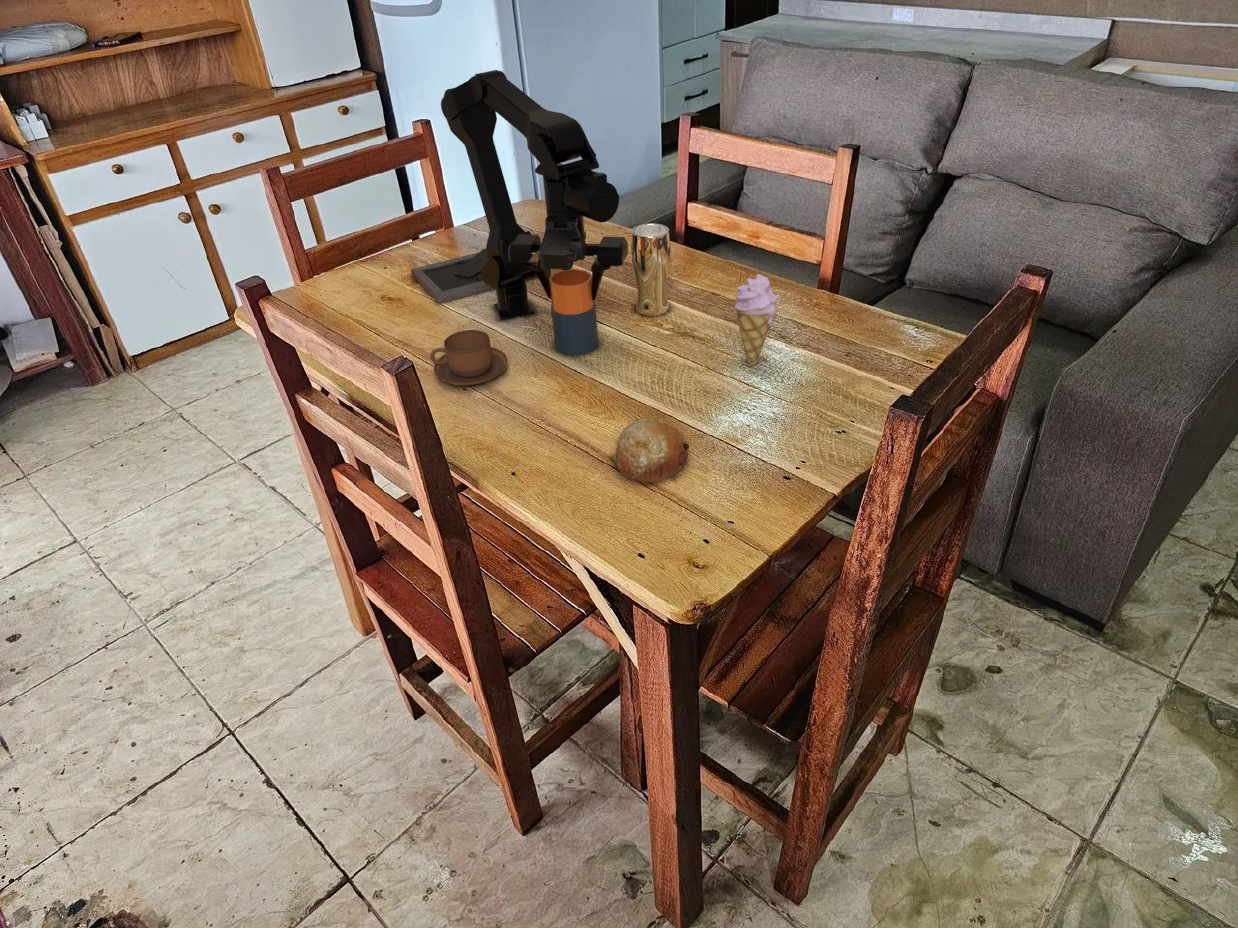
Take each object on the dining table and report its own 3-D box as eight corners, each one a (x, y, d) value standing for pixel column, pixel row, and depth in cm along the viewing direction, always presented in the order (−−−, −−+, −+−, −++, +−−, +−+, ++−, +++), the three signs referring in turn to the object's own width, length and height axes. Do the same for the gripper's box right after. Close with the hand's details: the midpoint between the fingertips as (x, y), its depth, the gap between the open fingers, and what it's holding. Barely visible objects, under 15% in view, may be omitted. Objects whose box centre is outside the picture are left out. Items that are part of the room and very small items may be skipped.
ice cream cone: (777, 357, 137) (784, 271, 128) (770, 375, 132) (777, 288, 123) (738, 352, 139) (741, 267, 130) (729, 370, 134) (733, 284, 125)
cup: (547, 301, 141) (544, 273, 138) (586, 293, 143) (584, 266, 140) (558, 318, 136) (555, 289, 133) (599, 310, 137) (597, 282, 134)
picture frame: (505, 252, 179) (412, 276, 171) (504, 243, 178) (410, 267, 170) (537, 277, 168) (439, 303, 160) (536, 267, 167) (437, 294, 159)
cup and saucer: (449, 400, 131) (442, 365, 127) (426, 368, 139) (419, 335, 136) (519, 379, 135) (514, 345, 131) (493, 349, 144) (488, 317, 140)
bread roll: (625, 463, 121) (599, 424, 116) (689, 433, 119) (664, 391, 114) (632, 506, 113) (604, 465, 108) (700, 474, 111) (674, 431, 106)
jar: (550, 340, 145) (546, 301, 141) (590, 332, 147) (588, 293, 143) (561, 359, 140) (557, 318, 135) (603, 350, 141) (601, 310, 137)
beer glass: (668, 318, 150) (666, 238, 141) (630, 316, 152) (626, 236, 143) (673, 301, 156) (672, 223, 147) (637, 299, 157) (634, 222, 148)
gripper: (491, 223, 125) (504, 318, 134) (612, 226, 121) (617, 323, 130) (512, 198, 133) (524, 289, 142) (626, 201, 130) (630, 293, 139)
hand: (572, 298), depth 138 cm, fingers closed on cup, 7 cm apart
